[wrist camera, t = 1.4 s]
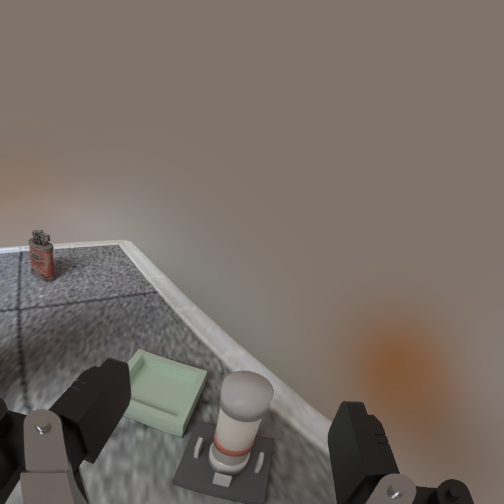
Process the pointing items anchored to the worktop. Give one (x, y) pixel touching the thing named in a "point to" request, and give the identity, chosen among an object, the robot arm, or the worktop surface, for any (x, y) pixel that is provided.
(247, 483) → the grey base plate
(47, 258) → the lighter
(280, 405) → the worktop surface
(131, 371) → the tray
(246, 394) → the fuse
